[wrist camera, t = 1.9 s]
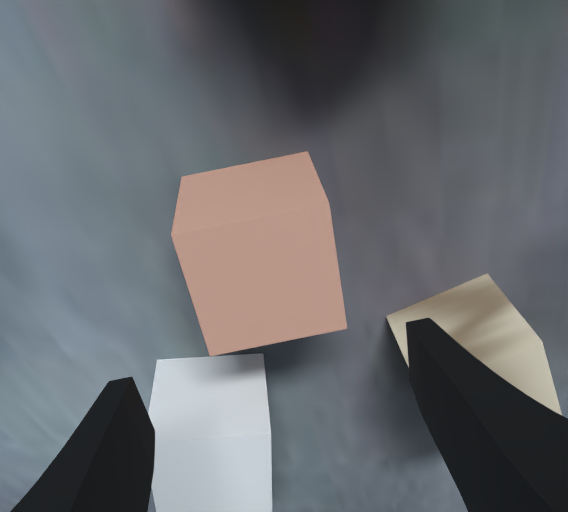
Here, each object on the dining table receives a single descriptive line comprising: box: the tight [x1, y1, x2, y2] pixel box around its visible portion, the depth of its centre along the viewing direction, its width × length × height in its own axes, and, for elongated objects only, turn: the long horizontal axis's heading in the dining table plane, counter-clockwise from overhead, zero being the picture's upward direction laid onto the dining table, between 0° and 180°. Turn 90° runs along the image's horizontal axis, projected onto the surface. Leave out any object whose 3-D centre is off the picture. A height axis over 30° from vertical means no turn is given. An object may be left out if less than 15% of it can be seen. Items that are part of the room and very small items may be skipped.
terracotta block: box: [171, 151, 347, 356], centre depth 20 cm, size 5×5×5 cm
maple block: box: [386, 274, 562, 415], centre depth 24 cm, size 5×5×5 cm
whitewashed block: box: [148, 353, 272, 512], centre depth 25 cm, size 5×5×5 cm
